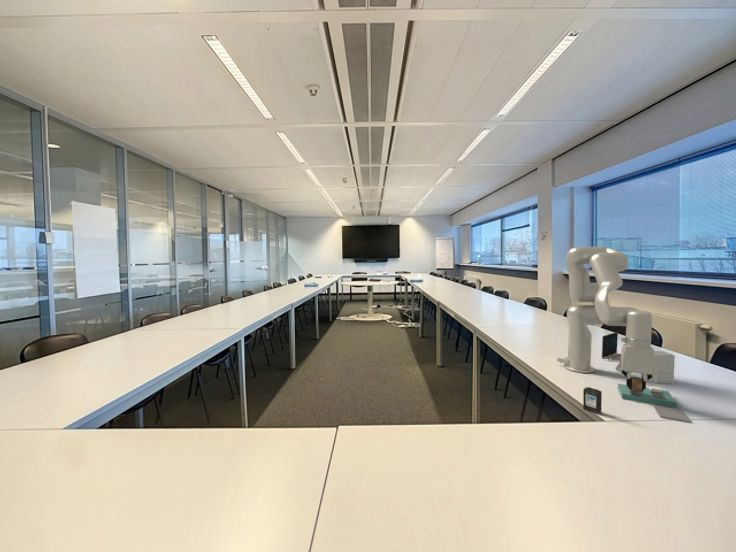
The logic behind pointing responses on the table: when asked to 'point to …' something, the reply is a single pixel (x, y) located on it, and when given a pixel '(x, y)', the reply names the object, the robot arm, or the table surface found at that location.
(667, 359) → the supplement box
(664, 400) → the switch panel
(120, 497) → the table surface
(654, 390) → the switch tab right
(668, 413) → the mat
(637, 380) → the brown cardboard box
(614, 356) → the laptop
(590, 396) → the ink cartridge
